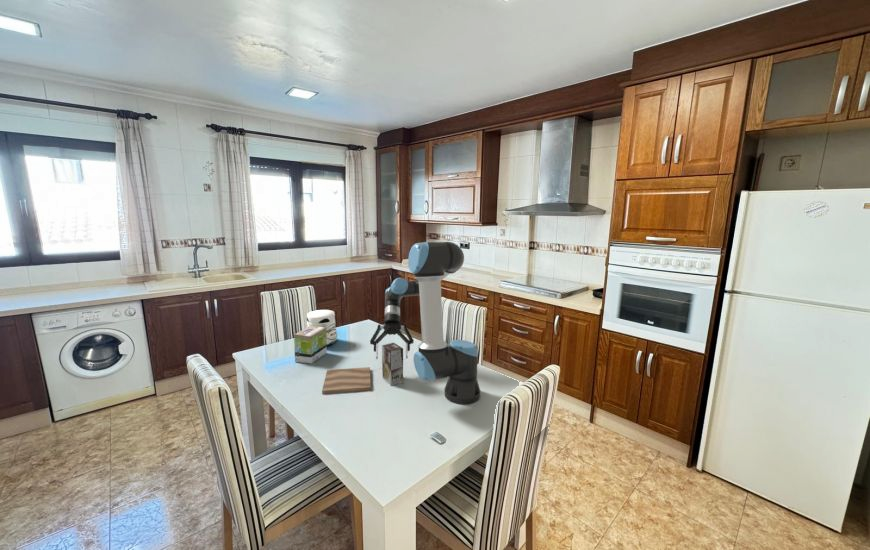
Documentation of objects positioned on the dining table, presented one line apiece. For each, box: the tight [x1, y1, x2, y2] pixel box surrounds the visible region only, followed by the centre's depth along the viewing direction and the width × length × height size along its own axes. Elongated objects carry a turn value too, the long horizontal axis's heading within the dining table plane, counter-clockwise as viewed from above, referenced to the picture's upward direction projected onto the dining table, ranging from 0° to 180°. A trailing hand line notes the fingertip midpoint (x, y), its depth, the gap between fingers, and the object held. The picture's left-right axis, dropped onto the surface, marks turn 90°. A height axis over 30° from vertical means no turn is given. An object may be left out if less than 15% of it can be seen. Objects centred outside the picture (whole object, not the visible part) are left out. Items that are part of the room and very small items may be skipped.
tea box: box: [293, 326, 328, 364], centre depth 183 cm, size 15×10×15 cm, turn 168°
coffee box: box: [381, 342, 404, 386], centre depth 160 cm, size 9×6×16 cm
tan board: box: [321, 366, 372, 395], centre depth 159 cm, size 20×20×2 cm
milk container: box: [306, 309, 338, 347], centre depth 203 cm, size 17×17×18 cm
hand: (391, 357), depth 161 cm, fingers open, 13 cm apart
